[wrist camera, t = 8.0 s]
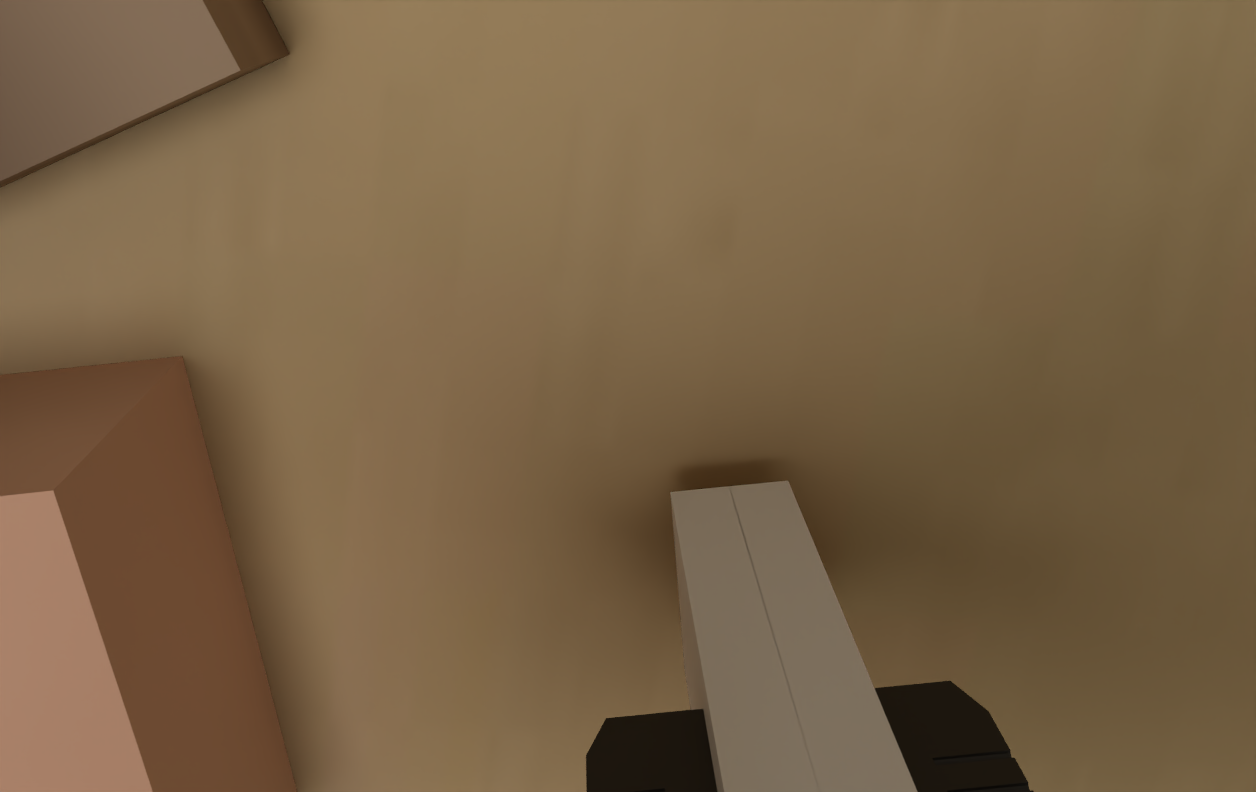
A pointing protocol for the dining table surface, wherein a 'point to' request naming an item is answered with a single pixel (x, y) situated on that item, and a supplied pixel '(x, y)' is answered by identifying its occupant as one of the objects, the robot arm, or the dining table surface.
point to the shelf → (114, 67)
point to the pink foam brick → (123, 595)
